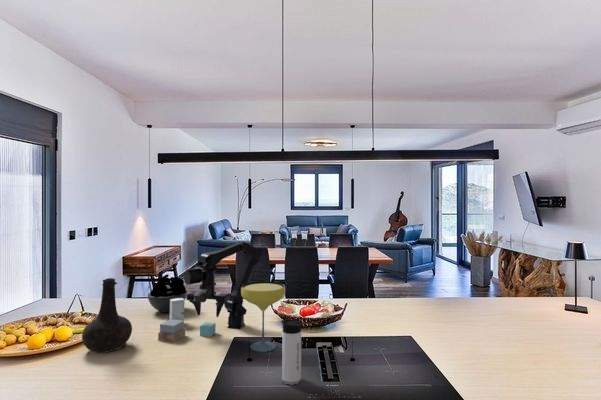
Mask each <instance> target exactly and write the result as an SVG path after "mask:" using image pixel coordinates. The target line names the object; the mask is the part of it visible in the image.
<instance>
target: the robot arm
mask: <svg viewBox="0 0 601 400" xmlns="http://www.w3.org/2000/svg"><path fill="white" fill-rule="evenodd" d="M239 252H241V253H243V254H244V257H243V259H244V261H243V262H244V264H243V266H242V268H241V271H240V274H239V276H238V278H237V280H236V283H235V286H234V288H233V290H232V292H231V293H230V292H228V293H220V294H218V295H216V294H217V292H216V289H215V288H216V285H217V282H215V281H216V280H215V279H216V277H215V276H216V275H215V274H216V271H217V272H218V271H220V268H218V267H217V265H218V264H219V263H220V262H221V261H222V260H223V259H225V258H229V257H230V256H233V255H236V254H238V253H239ZM262 257H263V252H262V249H261V248H260V247H255V246H253V245H250V244H248V243H247V242H246V241H237V242H236V243H233V244H230V245H228V246H226V247H224V248H221V249H219V250H215V251H213V250H212V251H207V252H203V253H202V254H201V255H200V257H199V260H198V261H197V263H196V264H195V266H194V268H186V270H185V271H186V272H184V276H183V280H184V284H185V285H186V286H188V285H189V286H190V285H195V284H199V289H198V290H196V291H191V292H189V293H188V292H187V296H186V301H188V302H189V303H191V304H192V305H193V306H194V308H195V311H196V314H197V316H200V315H201V309H202V303H205V302H206V301H207V300H215V302H216V303H215V304H214V305H215V306H216V313H215V314H216V318H218V317H220V313H221V311H222V309H223V306H224V308H225V309H226V311H227V313H228V318H227V321H228V323H227V328H229V329H235V330H237V329H238V330H240V329H242V328H243V327H245V325H246V323H245V319H244V318H245V317H244V316H245V315H247V311H248V310H247V308H245V306H243V303H244V298H243V297H242V295H241V287H242V286H243V285H244V284H247V283H249V280H250V277H251V275H252V272H253V269H254V267H255V266H256V265H257V264H258V263H259V262H260V260H261V258H262ZM200 283H201V284H200Z"/></svg>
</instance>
